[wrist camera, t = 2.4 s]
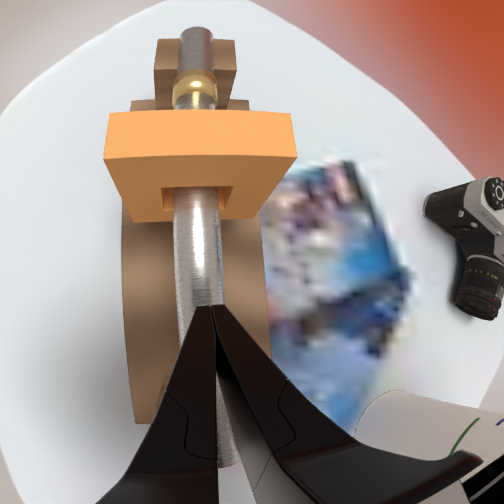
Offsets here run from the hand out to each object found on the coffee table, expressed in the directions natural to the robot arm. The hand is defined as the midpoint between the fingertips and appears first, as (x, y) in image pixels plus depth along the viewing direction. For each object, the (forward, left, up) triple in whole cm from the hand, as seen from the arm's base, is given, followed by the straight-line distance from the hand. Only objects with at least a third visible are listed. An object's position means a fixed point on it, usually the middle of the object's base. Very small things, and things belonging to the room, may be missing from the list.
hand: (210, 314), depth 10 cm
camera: (-18, -20, -14) cm, 30 cm away
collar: (+4, -4, -8) cm, 10 cm away
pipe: (+3, -3, -6) cm, 8 cm away
